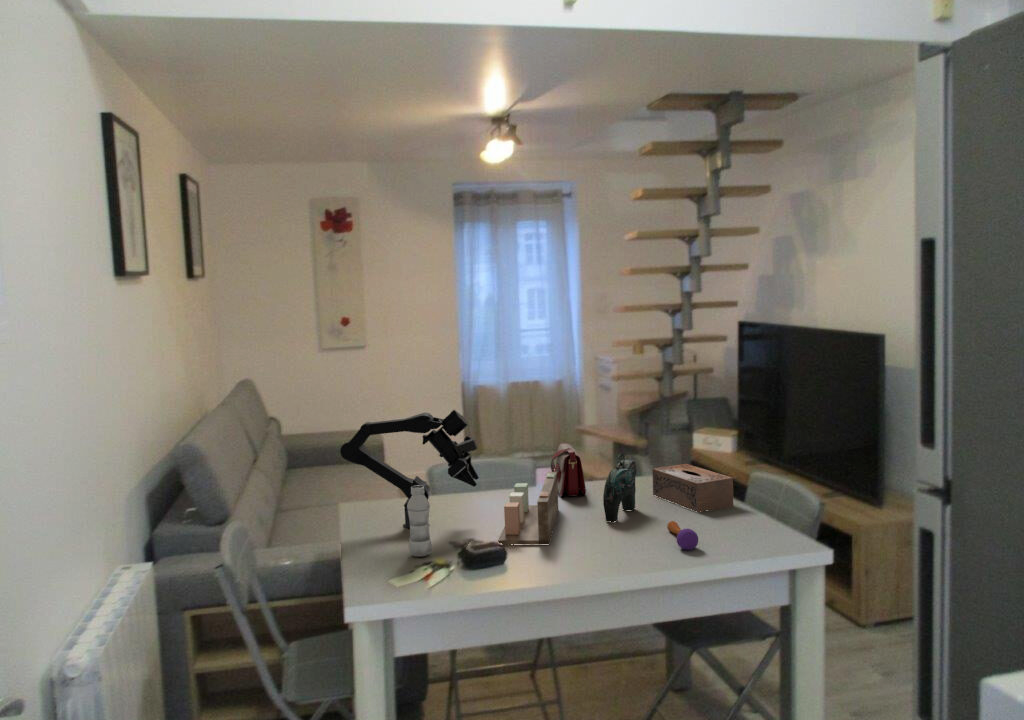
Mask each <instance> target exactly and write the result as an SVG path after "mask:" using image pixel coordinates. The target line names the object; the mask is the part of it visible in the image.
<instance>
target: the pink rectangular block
mask: <svg viewBox="0 0 1024 720" xmlns="http://www.w3.org/2000/svg"><path fill="white" fill-rule="evenodd" d="M503 511H504V513H503V514H504V516H503V517H504V527H505V535H519V532H520V509H519V502H516V503H510V502H506V503H505V504H504V506H503Z"/></svg>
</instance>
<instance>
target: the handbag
mask: <svg viewBox="0 0 1024 720" xmlns="http://www.w3.org/2000/svg"><path fill="white" fill-rule="evenodd" d="M555 451H556V452H555V453H554V455H553V456H552V459H551V462H550V470H551V472H557V484H558V496H559V497H562V496H563V495H564V493H566V495H567V496H568V497H576V495H577V496H578V495H579V491H580V492H581V493H582V494H583V496H586V495H587V489H586V488H587V487H586V482H585V474H584V469H583V465H582V460H581V458H580V456H579V454H578V452H577V451H576V450H575V448H574V447H573V446H572V444H571V443H569V442H560V443H559V444H558V445H557V447H556V450H555ZM554 460H555V461H556V464H555V461H554Z"/></svg>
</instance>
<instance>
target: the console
mask: <svg viewBox="0 0 1024 720" xmlns="http://www.w3.org/2000/svg"><path fill="white" fill-rule="evenodd" d="M557 512H559V492H558V484H557V472H552V471H547V474H546V477H545V479H544V483H543V485H542V487H541V491H540V493H539V496H538V499H537V502H536V505H535V504H534V505H533V504H532V505H531V504H529V509H528V512H525V519H524V522H523V523H520V532H519V535H505V526H503V529H502V531H501V533H500V535H499V537H498V539H497V543H498V542H499V543H502V544H503V545H502V546H515V545H514V544H549V543H551V540H552V536H551V535H553V533H552V531H553V532H554V529H553V528H554V527H555V525H554V524H556V521H555V520H557V517H556V516H558V513H557ZM550 539H551V540H550ZM511 544H513V545H511ZM549 545H550V544H549Z"/></svg>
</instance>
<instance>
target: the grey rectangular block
mask: <svg viewBox="0 0 1024 720" xmlns="http://www.w3.org/2000/svg"><path fill="white" fill-rule="evenodd" d="M516 502H519V509H520V523H523V522H524V519H525V511H524V492H514V491H513V492H511V493H510V494H509V503H516Z"/></svg>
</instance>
